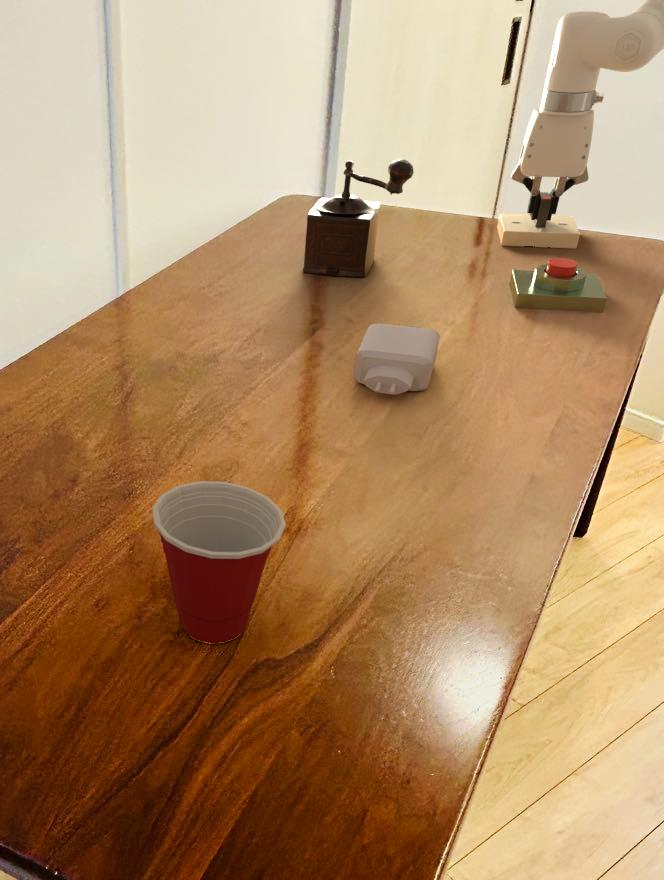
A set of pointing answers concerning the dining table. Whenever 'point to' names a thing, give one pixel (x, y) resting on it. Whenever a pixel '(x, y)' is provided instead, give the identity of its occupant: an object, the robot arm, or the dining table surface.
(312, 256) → the manual coffee grinder
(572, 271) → the button
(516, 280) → the control block
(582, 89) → the robot arm
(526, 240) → the cream slotted base block
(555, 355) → the dining table surface
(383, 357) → the charger
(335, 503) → the dining table surface
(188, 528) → the plastic cup
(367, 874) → the dining table surface
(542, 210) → the upright dark panel
